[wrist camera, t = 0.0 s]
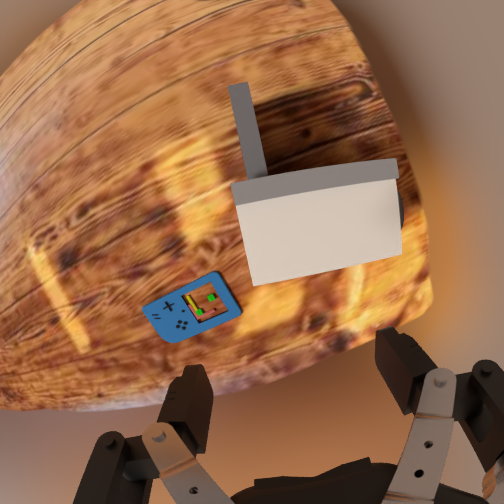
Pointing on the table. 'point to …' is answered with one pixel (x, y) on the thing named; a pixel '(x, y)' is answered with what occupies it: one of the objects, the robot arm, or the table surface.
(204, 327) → the handheld gaming device
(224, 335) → the table surface
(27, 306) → the table surface
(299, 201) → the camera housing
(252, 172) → the side door
